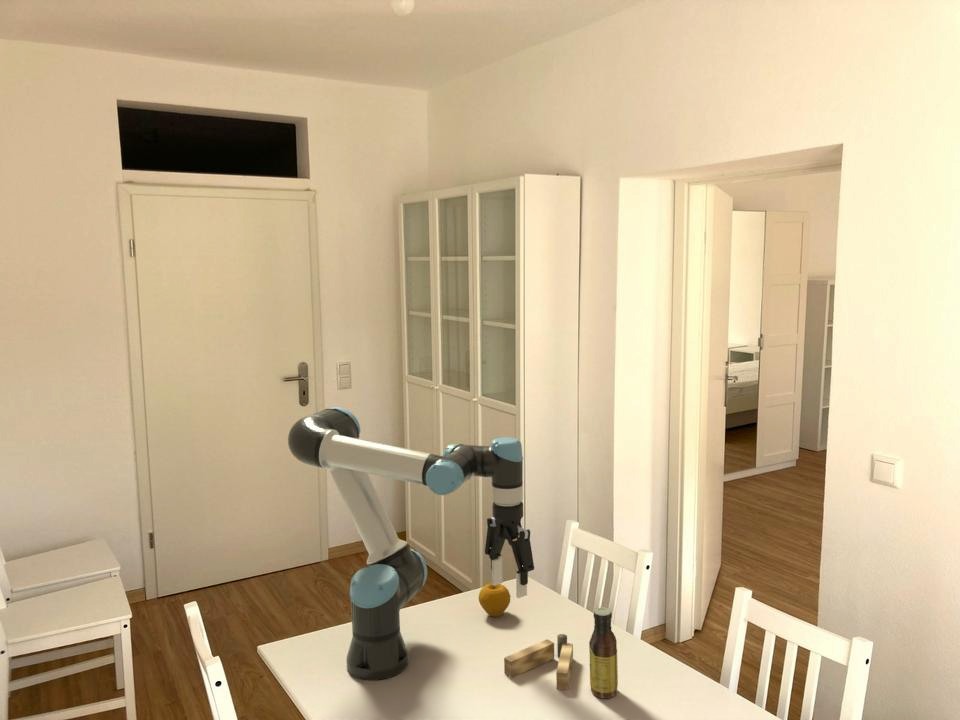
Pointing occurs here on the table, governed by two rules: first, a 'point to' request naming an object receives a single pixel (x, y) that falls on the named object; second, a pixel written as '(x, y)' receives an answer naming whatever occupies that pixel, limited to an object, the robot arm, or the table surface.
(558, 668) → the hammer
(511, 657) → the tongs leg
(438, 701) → the table surface
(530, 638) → the table surface
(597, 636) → the sauce bottle
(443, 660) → the table surface
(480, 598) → the apple
